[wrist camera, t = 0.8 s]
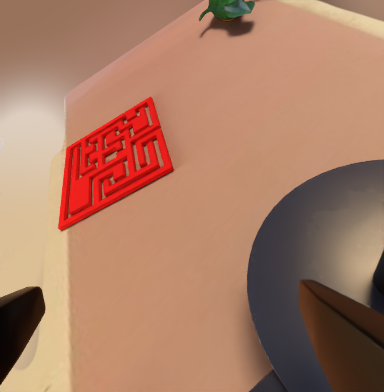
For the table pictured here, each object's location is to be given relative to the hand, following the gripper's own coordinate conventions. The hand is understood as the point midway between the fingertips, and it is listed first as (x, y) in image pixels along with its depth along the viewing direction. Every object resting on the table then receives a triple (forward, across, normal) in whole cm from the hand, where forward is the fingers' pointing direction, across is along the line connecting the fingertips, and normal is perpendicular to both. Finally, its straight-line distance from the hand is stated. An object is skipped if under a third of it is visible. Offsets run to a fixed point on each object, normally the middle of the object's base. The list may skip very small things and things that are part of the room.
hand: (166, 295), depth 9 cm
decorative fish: (+51, -9, -29) cm, 60 cm away
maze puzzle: (+36, +15, -3) cm, 39 cm away
